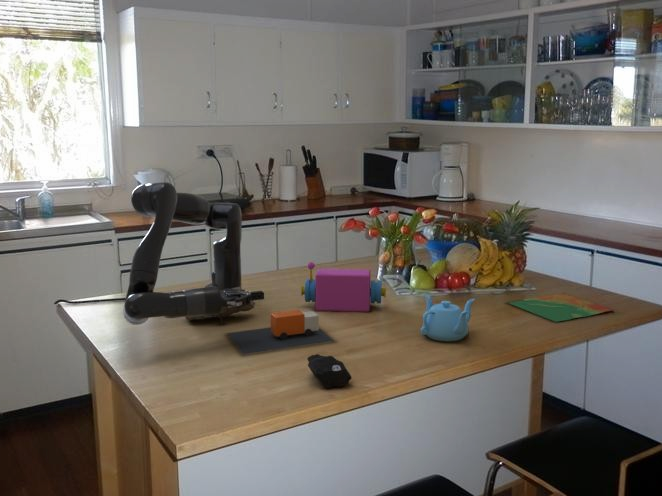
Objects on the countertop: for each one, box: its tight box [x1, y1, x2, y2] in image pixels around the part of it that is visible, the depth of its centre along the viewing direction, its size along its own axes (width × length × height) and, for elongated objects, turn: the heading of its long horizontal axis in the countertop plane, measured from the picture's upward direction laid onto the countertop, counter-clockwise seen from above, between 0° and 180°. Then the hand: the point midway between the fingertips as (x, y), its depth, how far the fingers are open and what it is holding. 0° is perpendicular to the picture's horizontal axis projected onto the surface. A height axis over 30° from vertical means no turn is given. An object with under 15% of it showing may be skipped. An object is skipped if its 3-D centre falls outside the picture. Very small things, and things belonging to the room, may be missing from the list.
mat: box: [227, 327, 335, 355], centre depth 188 cm, size 26×18×1 cm
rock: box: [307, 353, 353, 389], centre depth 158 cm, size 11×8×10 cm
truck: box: [269, 309, 320, 340], centre depth 190 cm, size 7×5×13 cm
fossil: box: [185, 290, 256, 324], centre depth 203 cm, size 22×10×15 cm
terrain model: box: [508, 292, 615, 323], centre depth 218 cm, size 25×22×1 cm
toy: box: [300, 261, 387, 313], centre depth 217 cm, size 28×9×15 cm, turn 85°
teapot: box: [420, 293, 476, 342], centre depth 190 cm, size 15×15×10 cm
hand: (263, 294), depth 184 cm, fingers closed
